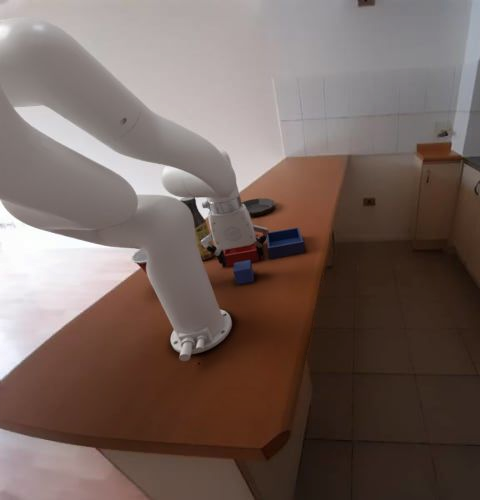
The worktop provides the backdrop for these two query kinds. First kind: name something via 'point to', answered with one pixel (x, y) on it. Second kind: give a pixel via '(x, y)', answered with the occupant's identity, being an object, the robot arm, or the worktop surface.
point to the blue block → (243, 272)
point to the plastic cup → (140, 259)
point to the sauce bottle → (199, 227)
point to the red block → (243, 249)
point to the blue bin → (285, 243)
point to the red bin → (241, 255)
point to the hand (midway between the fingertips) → (242, 261)
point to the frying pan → (258, 206)
